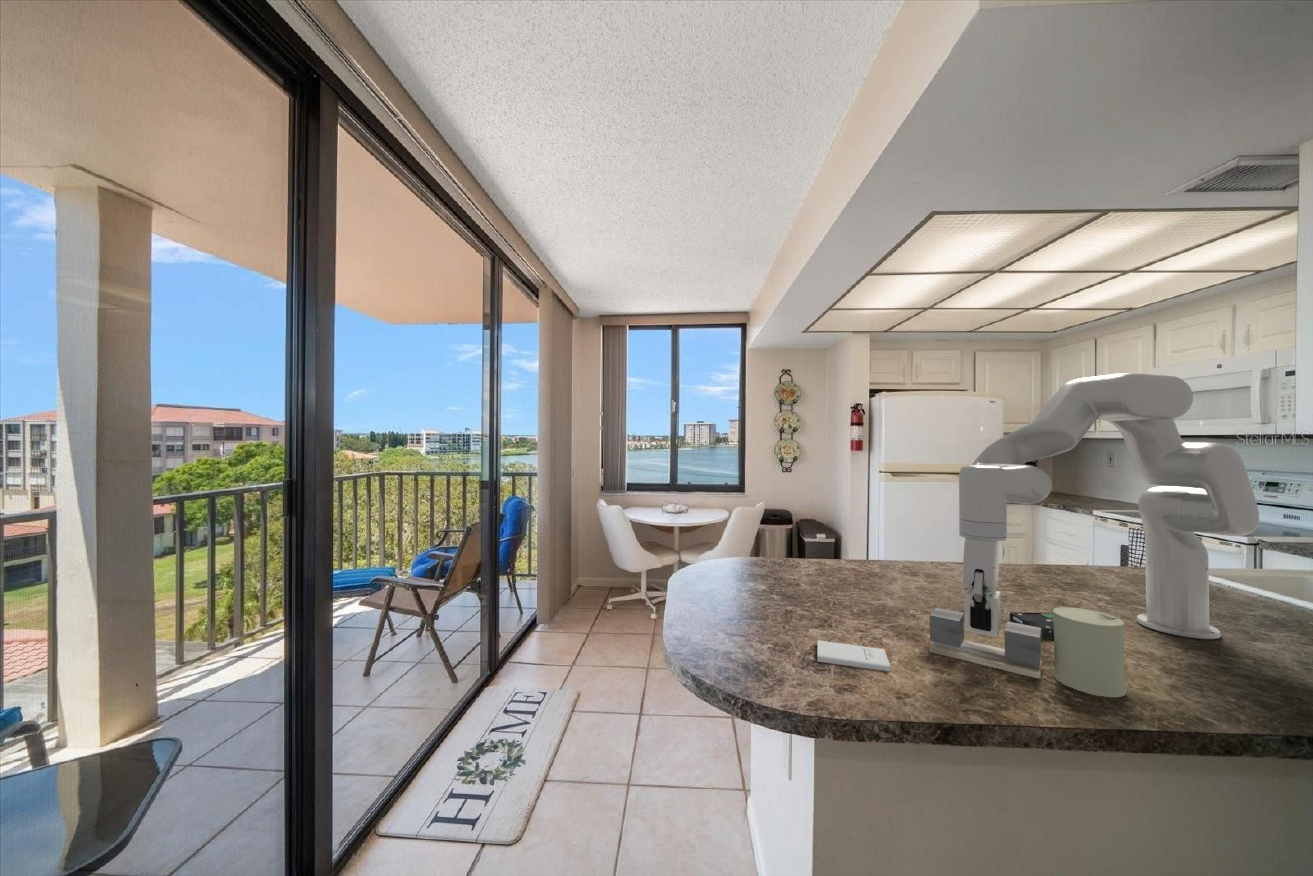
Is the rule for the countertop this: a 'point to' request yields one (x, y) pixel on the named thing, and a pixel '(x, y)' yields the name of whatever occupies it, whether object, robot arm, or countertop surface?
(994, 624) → the block
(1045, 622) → the disk drive
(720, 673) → the countertop surface
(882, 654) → the external hard drive
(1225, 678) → the countertop surface
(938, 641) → the board
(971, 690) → the countertop surface
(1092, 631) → the can
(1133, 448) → the robot arm
